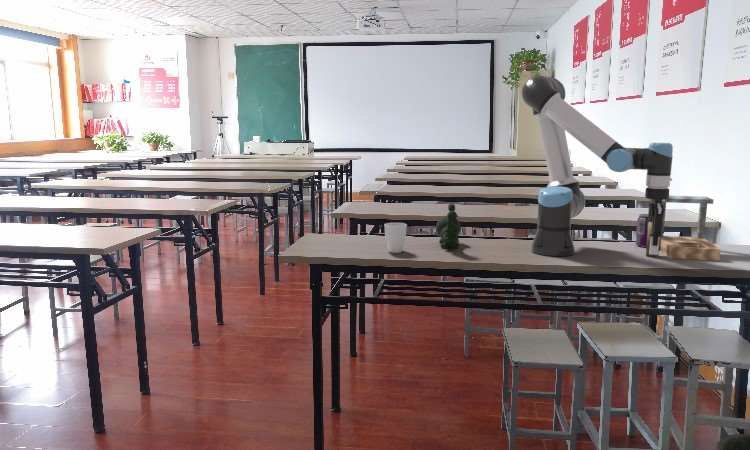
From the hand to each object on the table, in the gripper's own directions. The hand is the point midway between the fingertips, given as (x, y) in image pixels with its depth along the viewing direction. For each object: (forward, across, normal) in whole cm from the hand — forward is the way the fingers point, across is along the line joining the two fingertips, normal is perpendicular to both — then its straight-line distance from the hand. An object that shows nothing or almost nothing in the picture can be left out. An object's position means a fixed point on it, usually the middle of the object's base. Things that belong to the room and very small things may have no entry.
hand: (652, 252), depth 210 cm
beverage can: (+1, +18, -1) cm, 18 cm away
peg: (+1, 0, 0) cm, 1 cm away
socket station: (+1, +9, -13) cm, 16 cm away
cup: (+1, -15, +90) cm, 91 cm away
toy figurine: (+1, -1, +72) cm, 72 cm away
